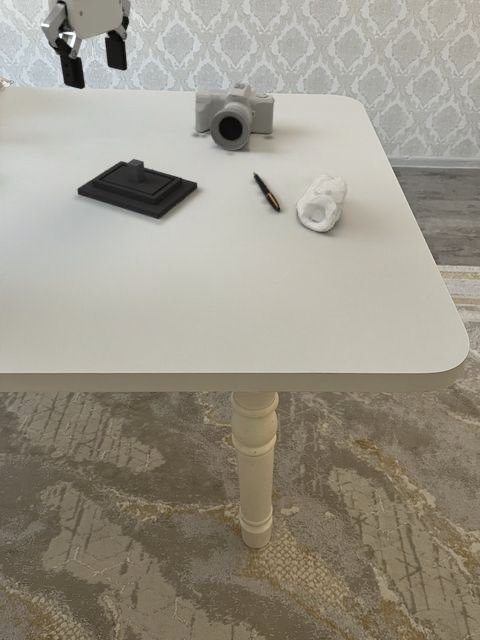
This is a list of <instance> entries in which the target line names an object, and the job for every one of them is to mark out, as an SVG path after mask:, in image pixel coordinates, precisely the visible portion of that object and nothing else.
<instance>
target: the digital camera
mask: <svg viewBox="0 0 480 640" xmlns="http://www.w3.org/2000/svg"><path fill="white" fill-rule="evenodd" d="M275 102H276V100H275V98H274V95H271V94H268V93H264V92H262V93H261V92H254V91H252V88H251V85H250V84H249V83H243V82H233V84H232V86H231V87H230V89H222V88H211V87H200V88H198V89H197V91H196V92H195V103H194V104H195V107H194V112H195V113H194V114H195V130H196V131H197V132H199V133H204V132H206V131H208V130H209V132H210V137H211V139H212V140H213V142H214V143H215V144H216V145H217V146H218V147H219V148H220V149H222V150H226V151H229V152H230V151H238V150H239V149H241V148H243V147H244V146H245V145H246V143H247V142H248V140H249V137H250V135H251V133H257V134H269V135H270V134H271V133H272V132H273V126H274V125H273V123H274V108H275V106H274V105H275Z"/></svg>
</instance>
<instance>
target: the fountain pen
mask: <svg viewBox="0 0 480 640" xmlns="http://www.w3.org/2000/svg"><path fill="white" fill-rule="evenodd" d="M252 175H253V178H254V179H255V181H256V182H257V184H258V186H259V188H260V190H261V191H262V193H263V195H264V196H265V199H267V201H268V202H269V204H270V205H271V206H272V207H273V209H274V210H275V211H277V212H281V205H280V203H279V201H278V200H277V199H276V197H275V195H274V194H273V193H272V192H271V191H270V188H268V186H267V185H266V183H265V182H264V181H263V180H262V178H261V177H260V176H259V174H258V173H257V172H255V171H253V174H252Z"/></svg>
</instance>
